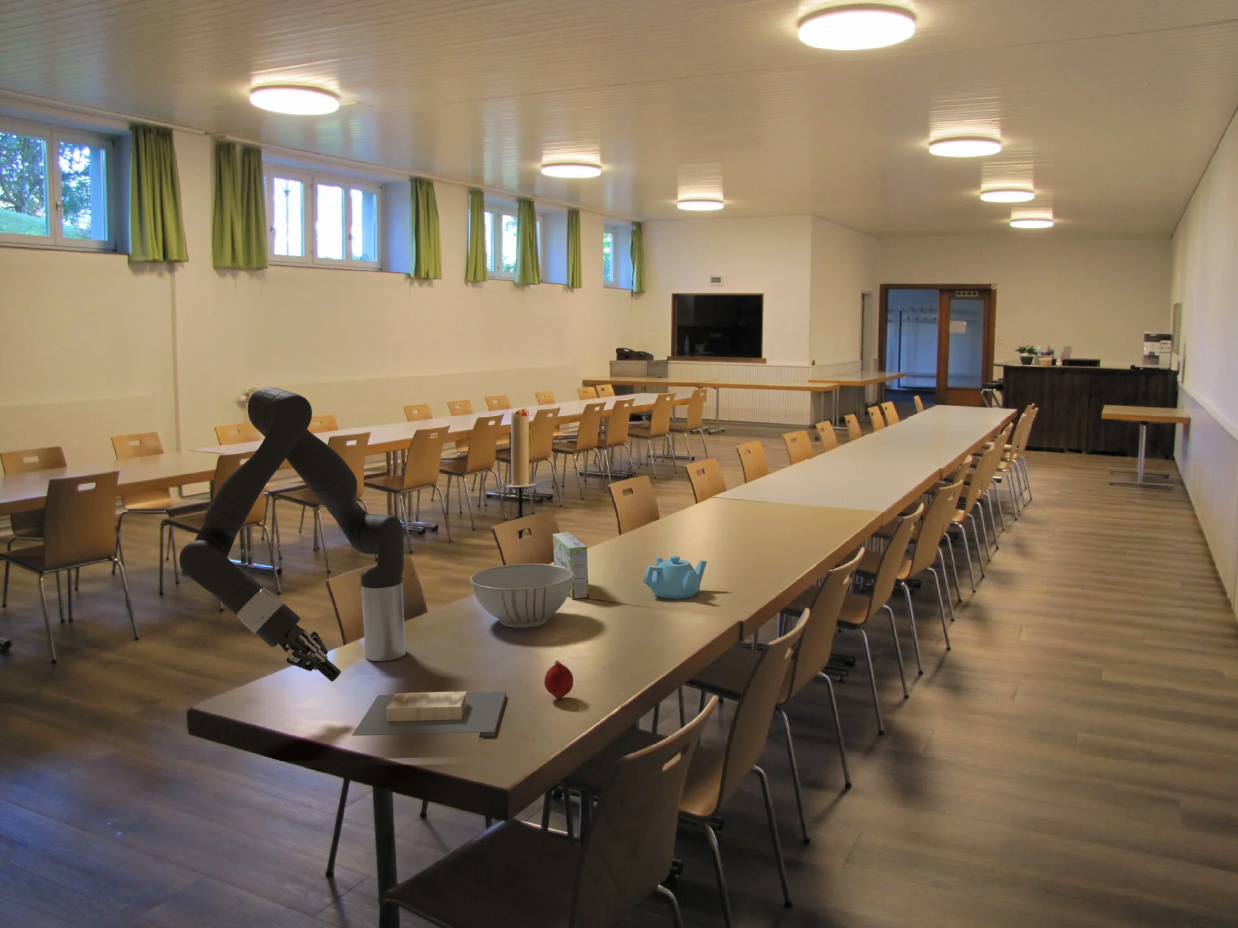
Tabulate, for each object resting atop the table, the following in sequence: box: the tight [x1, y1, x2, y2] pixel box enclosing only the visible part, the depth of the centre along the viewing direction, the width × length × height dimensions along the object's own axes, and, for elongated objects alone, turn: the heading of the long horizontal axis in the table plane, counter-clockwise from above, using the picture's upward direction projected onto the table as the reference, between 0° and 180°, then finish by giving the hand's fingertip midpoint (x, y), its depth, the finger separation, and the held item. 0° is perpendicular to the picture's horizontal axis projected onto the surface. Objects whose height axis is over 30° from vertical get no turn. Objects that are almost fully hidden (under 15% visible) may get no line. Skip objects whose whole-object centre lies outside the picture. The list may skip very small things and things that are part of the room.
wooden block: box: [386, 690, 468, 721], centre depth 184 cm, size 8×3×14 cm
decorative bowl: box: [469, 563, 575, 629], centre depth 247 cm, size 27×27×12 cm
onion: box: [543, 659, 574, 700], centre depth 192 cm, size 6×6×8 cm
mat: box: [351, 691, 507, 738], centre depth 185 cm, size 20×26×1 cm
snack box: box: [552, 531, 590, 601], centre depth 276 cm, size 21×6×15 cm, turn 17°
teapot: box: [642, 555, 708, 600], centre depth 270 cm, size 15×15×11 cm
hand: (337, 676), depth 184 cm, fingers closed
